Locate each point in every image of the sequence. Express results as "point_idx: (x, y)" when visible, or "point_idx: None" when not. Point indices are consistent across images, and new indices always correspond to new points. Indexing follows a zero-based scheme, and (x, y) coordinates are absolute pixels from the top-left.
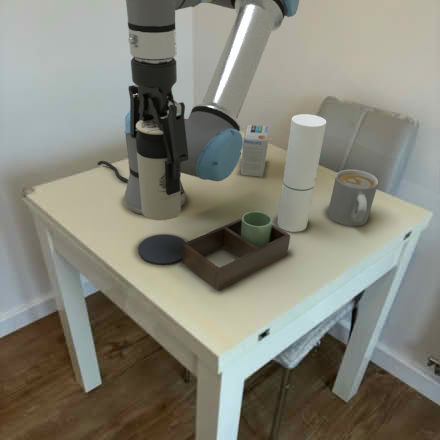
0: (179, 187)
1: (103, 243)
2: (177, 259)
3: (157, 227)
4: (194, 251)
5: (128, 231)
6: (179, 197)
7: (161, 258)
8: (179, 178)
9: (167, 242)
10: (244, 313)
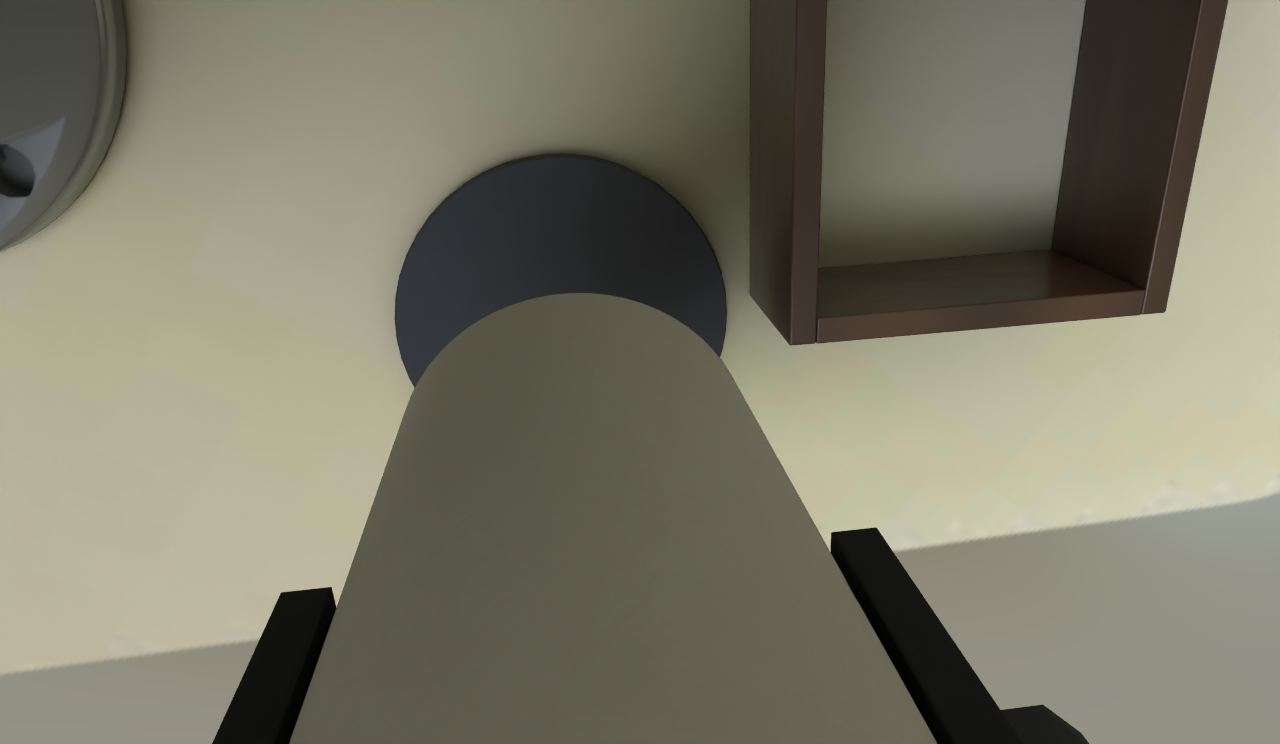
0: (896, 563)
1: (305, 571)
2: (722, 316)
3: (278, 211)
4: (914, 323)
5: (238, 402)
6: (757, 427)
7: None
8: (953, 643)
9: (523, 272)
10: (1276, 258)
